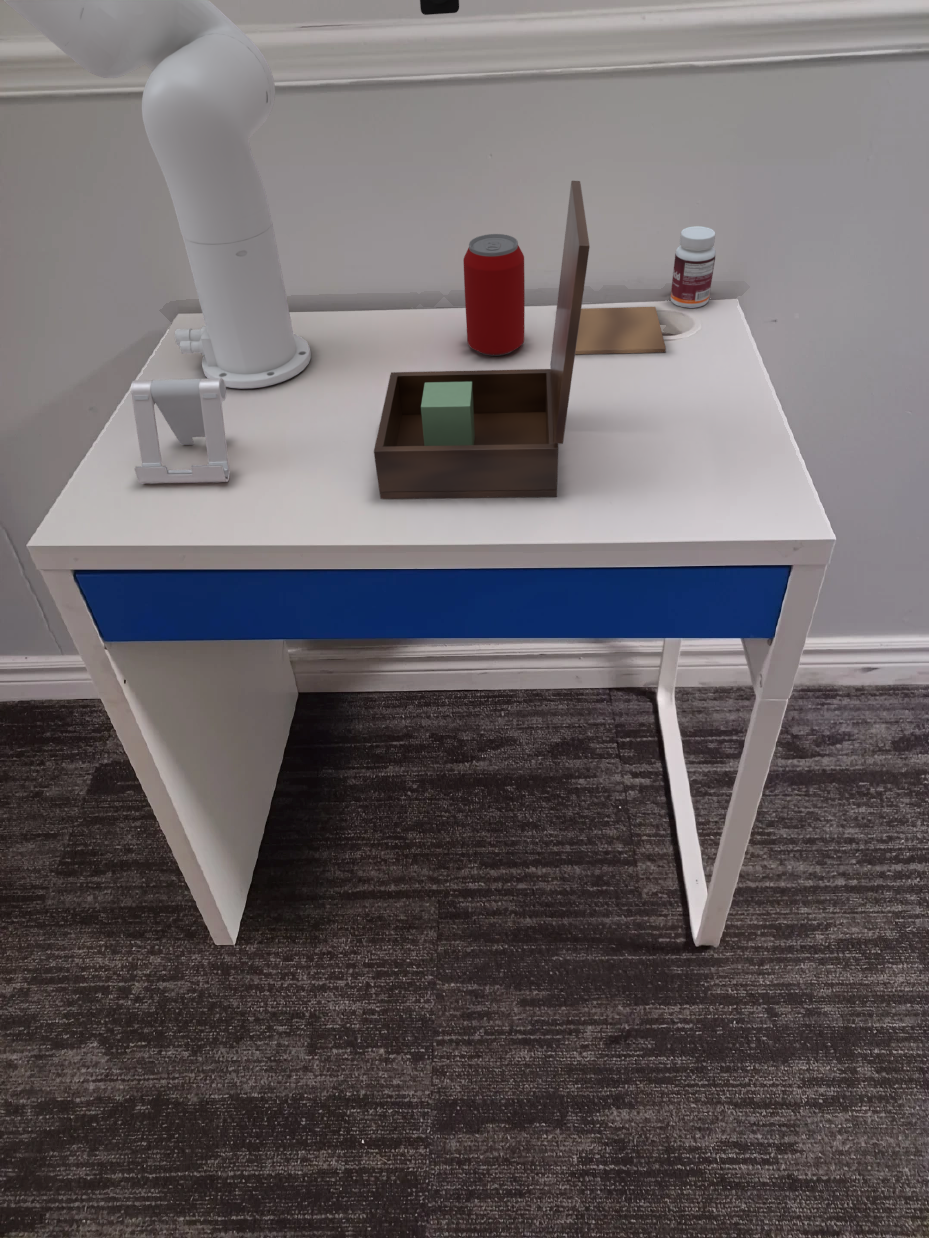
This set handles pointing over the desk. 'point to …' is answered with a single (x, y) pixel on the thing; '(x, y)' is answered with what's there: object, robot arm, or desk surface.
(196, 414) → the tablet stand
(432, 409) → the green block
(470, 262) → the beverage can
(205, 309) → the robot arm
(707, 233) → the pill bottle
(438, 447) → the chest
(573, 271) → the lid
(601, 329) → the coaster
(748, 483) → the desk surface
